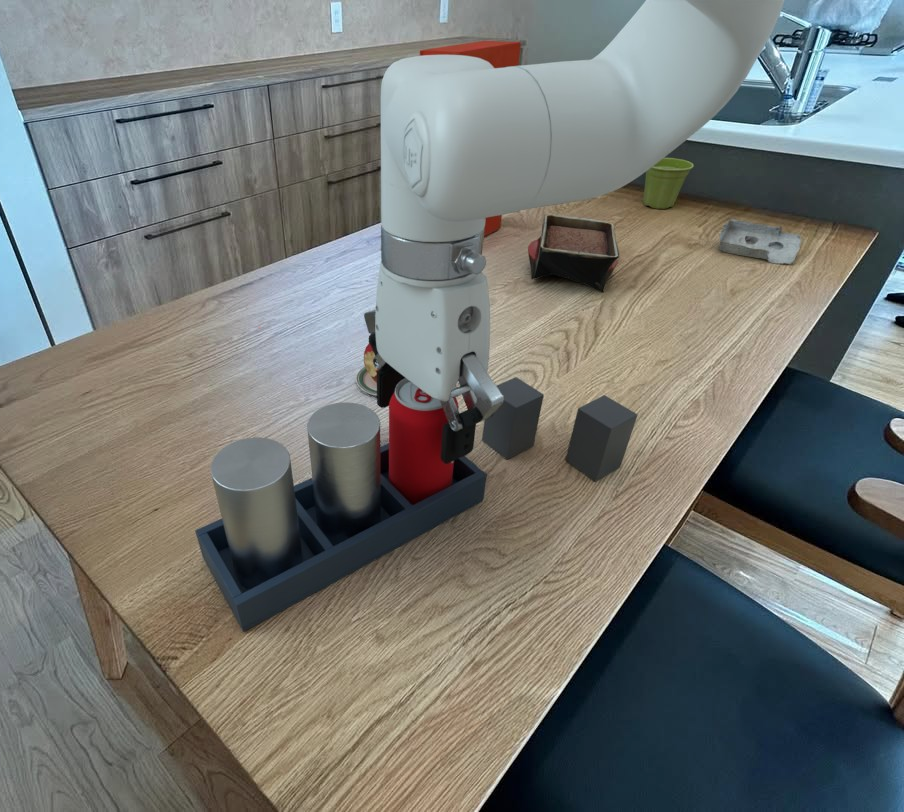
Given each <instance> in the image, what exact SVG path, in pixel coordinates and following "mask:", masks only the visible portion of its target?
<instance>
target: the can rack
mask: <svg viewBox="0 0 904 812" xmlns="http://www.w3.org/2000/svg"><path fill="white" fill-rule="evenodd" d="M380 470H381V522H380V523H378V524H376V525H374V526H372V527H370V528H368V529H366V530H364V531H362V532H360V533H358V534H357V535H355V536H353V537H351V538H349V539H347V540H345V541H343V542H341V543H339V544H337V545H335V546H333V545H332V544H331V543H330V541H329V540H328V539H327V537H326V536H325V535H324V534H323V532H322V531H321V530H320V529H319V527H318V526H317V520H316V510H315V500H314V490H313V480H312V477H311V478H308V479H306V480H304V481H302V482H300V483H297V484H294V491H295V499H296V507H297V515H298V523H299V530H300V538H301V546H302V554H303V562H302V563H300V564H299V565H297V566H295V567H293V568H291V569H289V570H287V571H285V572H283V573H281V574H279V575H277V576H275V577H273V578H271V579H269V580H268V581H266V582H264V583H262V584H260V585H258V586H256V587H254V588H252V589H248V588H246V587H245V586H243V585H242V584H241V583H240V582H239V580H238V579H237V577H236V574H235V571H234V567H233V562H232V558H231V554H230V550H229V546H228V542H227V538H226V533H225V529H224V525H223V521H222V518H220V519H217V520H215V521H213V522H210V523H208V524H206V525H204V526H202V527H199V528H197V529H196V530H195V535H196V538H197V543H198V546H199V549H200V553H201V556H202V559H203V560H204V562H205V564H206V566H207V568H208V570H209V571H210V573H211V575H212V577H213V579H214V581H215V582H216V585H217V586H218V588H219V590H220V592H221V593H222V596H223V597H224V599H225V601H226V603H227V604H228V607H229V608H230V610H231V612H232V614H233V616H234V618H235V619H236V621H237V624H238V625H239V627H240V629H241V631H242V632H243V633H245V632H246V631H248V630H250V629H252V628H253V627H255V626H257V625H260V624H261V623H263V622H265V621H267V620H268V619H270V618H272V617H273V616H276V615H277V614H279V613H281V612H282V611H285V610H286V609H289V608H290V607H292V606H294V605H296V604H297V603H299V602H301V601H303V600H305V599H307V598H308V597H310V596H312V595H314V594H317V592H319V591H322V590H323V589H325V588H326V587H328V586H330V585H332V584H334V583H335V582H338V581H339V580H341V579H343V578H345V577H347V576H349V575H350V574H353V573H354V572H357V570H359V569H361V568H364V567H365V566H367V565H368V564H370V563H373V562H374V561H376V560H378V559H379V558H382V557H383V556H385V555H387V554H389V553H391V552H392V551H395V550H396V549H398V548H400V547H402V546H403V545H405V544H407V543H409V542H411V541H413V540H414V539H417V538H418V537H420V536H421V535H424V534H425V533H428V532H429V531H431V530H432V529H435V528H437V527H438V526H440V525H442V524H444V523H445V522H447V521H449V520H451V519H452V518H455V517H457V516H458V515H460V514H462V513H463V512H465V511H467V510H469V509H471V508H473V507H475V506H476V505H478V504H481V503H482V502H483V501H484V499H485V492H486V484H487V478H488V474H487V472H485V471H484V470H483V469H481V468H480V467H479V466H477V465H476V464H475V463H474V462H473V461H472V460H471V459H469V458H468V457H467V456H466V455H465V456H463V457H460V458H458V459H456V460H454V466H453V477H452V485H451V486H449V487H447V488H446V489H444V490H442V491H440V492H438V493H436V494H434V495H432V496H430V497H428V498H426V499H424V500H422V501H420V502H418V503H417V504H415V505H411V504H410V503H409V502H408V500H407V499H406V498H405V497H404V496H403V495H402V494H401V493H400V492H399V491H398V490H397V489H396V488H395V487H394V486H393V485H392V484H391V483H390V482H389V442H388V443H386V444H384V445H381V446H380Z"/></svg>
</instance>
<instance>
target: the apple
mask: <svg viewBox="0 0 904 812" xmlns="http://www.w3.org/2000/svg"><path fill="white" fill-rule="evenodd" d="M374 357H375V354H374V352H373V350H372V347H371V345H370V344H369V343H368V344H367V345H366V347H365V349H364V352H363V365H364V366H363V367H361V368H360V369H359V370H358V372H357V373H356V375H355V383H356V385H357V386H358V388H359V389H361V391H363V392H364V393H366V394H369V395H371V396H374V397H377V372H378V371H380V370H377V369H376V368H375V367H374V365H373V358H374Z"/></svg>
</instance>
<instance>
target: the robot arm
mask: <svg viewBox="0 0 904 812" xmlns="http://www.w3.org/2000/svg"><path fill="white" fill-rule="evenodd" d="M784 3H785V0H645V1H644V2H643V3H642V4H641V6H640V7H639V8H638V10H637V11H636V12H635V13H634V14H633V16H632V17H631V18H630V19H629V21H627V23H626V24H625V25H624V26H623V27H622V28H621V30H620V31H619V32H618V33H617V34H616V36H615V37H614V38H613V39H612V40H611V41H610V42H609V44H607V45H606V47H605V48H604V49H603V50H601V51H600V53H599V54H597V55H595V57H593V58H591V59H581V60H579V59H578V60H563V61H555V62H553V61H552V62H544V63H533V64H521V65H518V66H510V67H505V68H494V67H493V66H492V65H491V64H490V63H489V62H487V61H485V60H483V59H481V58H477V57H471V56H463V55H423V56H420V55H415V56H409V57H404V58H401V59H398V60H397V61H395V62H393V63H391V65H389V66H388V67H387V69H386V70H385V72H384V74H383V77H382V80H381V84H380V263H379V264H380V265H379V271H378V277H377V285H376V286H377V287H376V297H375V298H376V299H375V309H372V310H369V311H366V312H365V313H364V314H363V315H364V316H363V317H364V321H365V325H366V329H367V332H368V334H370V335H368V344H370V345H371V347H372V350H373V352H374V354H375V357H374V358H373V365H374V367H375V368H376V369H377V370H380V371H378V372H377V396H376V405H377V406H378V407H379V408H381V409H384V408H387V407H389V402H390V399H391V397H392V395H393V393H394V392H395V388H396V386H397V384H398V383H399V382H400V381H401V380H403V379H404V378H407V379H408V380H409V381H411V382H412V383H413V384H415V385H416V386H417V387H419V388H420V389H421V390H423V391H424V392H425V393H427V394H428V395H430V396H431V397H433V398H435V399H437V400H440V402H441V405H442V407H443V410H444V412H445V415H446V417H447V420H448V423H446V424H445V425H444V426H443V432H442V445H441V460H442V461H443V462H444V463H445V464H448V463H450V462H452V461H454V460H456V459H458V458H460V457H463V456H465V457H466V456H468V455H469V454H470V453H472V452H473V450H474V446H475V437H476V428H477V424H479V423H481V422H484V420H485V419H487V418H489V417H492V416H493V414H494V412H495V411H496V410H497V409H498V408H499V407H500V406H501V405H502V404H503V402H504V397H503V395H502V393H501V392H500V390H499V389H498V388H497V385H496V383H495V382H494V381H493V379H492V378H491V376H490V375H489V373H488V372H489V362H490V361H489V360H490V349H491V347H490V346H491V304H490V303H491V301H490V300H491V299H490V289H489V284H488V277H487V275H486V274H485V273H484V270H485V268H486V266H487V259H486V256H484V255H483V248H484V238H485V236H484V229H485V220H486V218H487V217H493V216H498V215H502V216H503V215H509V214H515V213H519V212H521V211H526V210H532V209H539V208H545V207H550V206H551V207H552V206H557V205H563V204H570V203H577V202H583V201H587V200H593V199H597V198H599V197H602V196H605V195H608V194H610V193H612V192H615V191H617V190H619V189H621V188H624V186H626V185H629V183H631V182H633V181H634V180H636V179H638V178H639V177H641V176H642V175H643V174H646V171H647V170H649V169H650V168H651V167H653V166H654V165H655V164H657V163H658V162H659V161H660V160H662V159H663V158H666V157H667V156H668V155H669V154H671V153H672V152H673V151H674V150H676V149H677V148H678V147H679V146H681V145H682V144H684V143H685V142H686V141H687V140H688V139H689V138H690V137H692V136H693V135H694V134H695V133H697V132H698V131H700V130H701V129H702V128H703V127H704V126H705V125H707V123H709V122H710V121H711V120H712V119H713V118H714V117H715V116H716V115H717V114H718V113H719V112H720V111H721V110H722V109H723V108H724V107H725V106H726V105H727V104H728V103H729V102H730V100H731V99H732V98H733V97H734V96H735V94H736V93H737V92H738V90H739V89H740V87H741V85H742V84H743V82H745V80H746V79H747V77H748V75H749V74H750V72H751V70H752V68H753V67H754V65H755V64H756V61H757V60H758V58H759V57H760V55H761V53H762V51H763V50H764V49H765V46H766V45H767V43H768V41H769V39H770V37H771V36H772V33H773V32H774V29H775V27H776V24H777V22H778V20H779V18H780V16H781V13H782V10H783V6H784ZM457 384H459V386H457ZM456 386H457V387H456ZM459 396H462V398H463V402H464V404H465V406H466V410H464V411H461V412H460V411H459V409H458V408H457V406H456V403H455V401H454V397H456V398H457V397H459Z"/></svg>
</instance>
